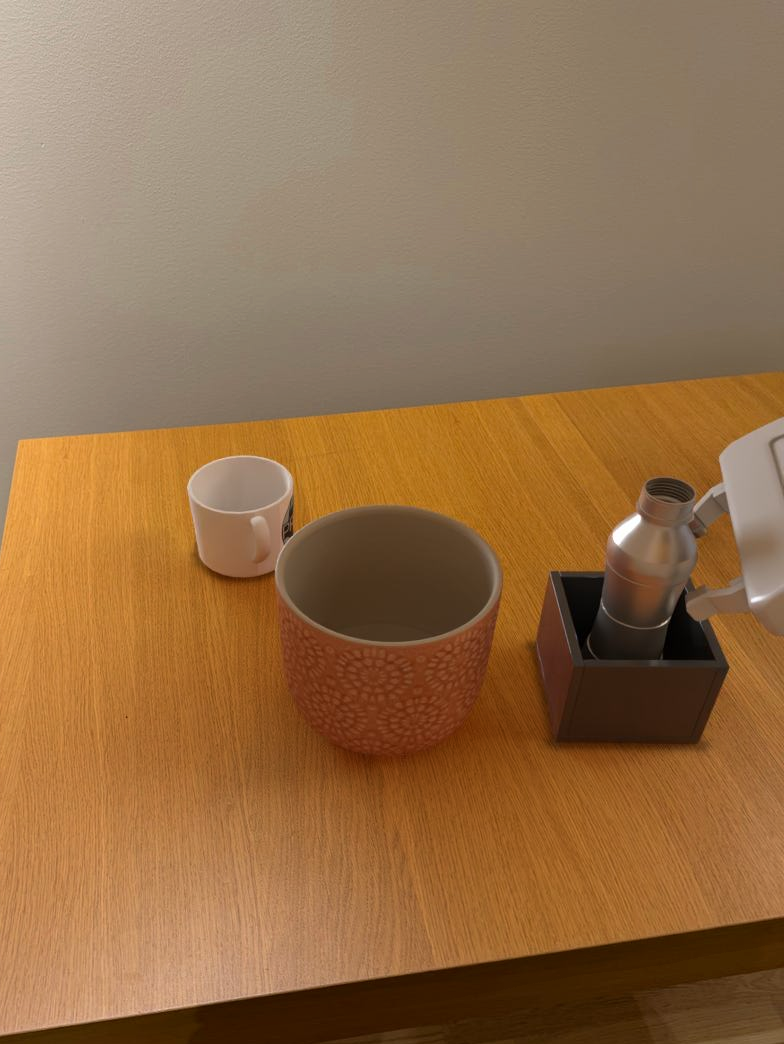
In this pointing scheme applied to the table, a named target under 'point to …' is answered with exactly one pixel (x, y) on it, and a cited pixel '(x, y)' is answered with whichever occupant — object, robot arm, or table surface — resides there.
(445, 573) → the planter
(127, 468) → the table surface
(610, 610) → the silver metal bottle
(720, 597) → the robot arm
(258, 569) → the mug
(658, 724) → the dark square storage bin
